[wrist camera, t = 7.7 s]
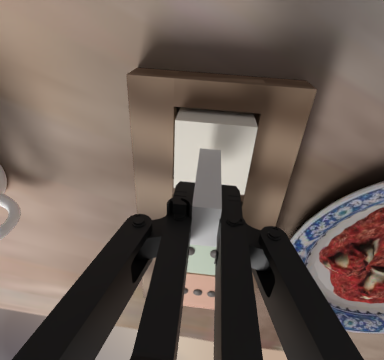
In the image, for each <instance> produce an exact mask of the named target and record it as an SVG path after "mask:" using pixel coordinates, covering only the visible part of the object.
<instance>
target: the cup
mask: <svg viewBox="0 0 384 360" xmlns="http://www.w3.org/2000/svg"><path fill="white" fill-rule="evenodd" d="M6 187H7V178H6V174H5V172H4V170H3V168H2V166H1V165H0V206H2V207H4V208H5V209H7V211H8V212H9V215H8V218H7V219H6V221H5V222H4V223H3V224H2V225H1V226H0V240H1V239H2V238H4V237H5V236H6V235H7V234H8V233H9V232H10V231H11V230H12V229H13V228H14V227H15V226H16V224H17V223H18V221H19V219H20V216H21V210H20V207H19V205H18V204H17V203H16V202H15V201H14V200H13V199H12V198H10V197H8V196H7V195H5V194H4V193H5V190H6Z"/></svg>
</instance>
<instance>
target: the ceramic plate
mask: <svg viewBox="0 0 384 360" xmlns="http://www.w3.org/2000/svg"><path fill="white" fill-rule="evenodd" d="M290 241H291V243H292V244H293V246H294V248H295V249H296V251H297V253H298V254H299V256H300V257H301V259H302V261H303V262H304V264H305V265H306V267H307V269H308V270H309V272H310V274H311V275H312V277H313V278H314V280H315V282H316V283H317V285H318V286H319V288H320V290H321V291H322V293H323V295H324V296H325V298H326V299H327V301H328V303H329V304H330V306H331V307H332V309H333V311H334V312H335V314H336V316H337V317H338V319H339V320H340V322H341V324H342V325H343V327H344V329H345V330H346V331H349V332H358V333H384V181H382V182H379V183H376V184H374V185H371V186H368V187H365V188H363V189H360V190H357V191H355V192H353V193H351V194H348V195H346V196H344V197H342V198H340V199H339V200H337V201H335V202H333V203H331V204H330V205H328V206H327V207H325V208H324V209H322V210H320V211H319V212H318V213H317V214H315V215H314V216H313V217H311V218H310V219H309V220H308V221H306V222H305V223H304V224H303V225H302V226H301V228H300V229H299V230H298V231H297V232H296V233H295V234H294V235H293V237H292V238H291V239H290Z"/></svg>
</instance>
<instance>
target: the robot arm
mask: <svg viewBox="0 0 384 360" xmlns="http://www.w3.org/2000/svg"><path fill="white" fill-rule="evenodd" d="M190 244H191V245H201V246H211V247H216V245H217V248H216V255H215V261H214V264H215V315H214V360H263V356H262V348H261V340H260V332H259V324H258V316H257V308H256V300H255V291H254V283H253V275H254V278H255V280H256V283H257V285H258V288H259V290H260V293H261V295H262V298H263V300H264V303H265V305H266V307H267V310H268V312H269V315H270V317H271V320H272V322H273V325H274V327H275V330H276V332H277V335H278V337H279V340H280V342H281V345H282V347H283V350H284V352H285V354H286V357H287V359H288V360H364V359H363V358H362V356H361V354H360V353H359V351H358V350H357V348H356V346H355V345H354V343H353V341H352V340H351V338H350V337H349V335H348V333H347V332H346V330H345V329H344V327H343V325H342V324H341V322H340V320H339V319H338V317H337V316H336V314H335V312H334V311H333V309H332V307H331V306H330V304H329V303H328V301H327V299H326V298H325V296H324V295H323V293H322V291H321V290H320V288H319V286H318V285H317V283H316V282H315V280H314V278H313V277H312V275H311V274H310V272H309V270H308V269H307V267H306V265H305V264H304V262H303V261H302V259H301V257H300V256H299V254H298V253H297V251H296V249H295V248H294V246H293V244H292V243H291V241H290V240H289V238H288V236H287V235H286V233H285V232H284V231H283V230H281V229H279V228H277V227H274V226H267V227H264V228H262V229H261V230H258V229H255V228H253V227H251V226H249V225H248V224H247V223H246V222H245V220H244V219H243V214H242V206H241V197H240V191H239V189H238V188H237V187H236V186H232V185H222V184H221V150H214V149H202V148H200V151H199V159H198V166H197V174H196V181H195V183H194V182H183V181H180V182H179V183H178V184H177V185H176V187H175V192H174V196H173V198H171V199H170V200H168V202H167V215H166V216H165V217H163V218H160V219H154V220H151V218H150V217H149V216H147V215H145V214H135V215H133V216H130V217H129V218H128V219H127V220H126V221H125V222H124V224H123V225H122V226H121V227H120V229H119V230H118V231H117V232H116V233H115V235H114V236H113V237H112V238H111V240H110V241H109V242H108V243H107V244H106V246H105V247H104V248H103V249H102V250H101V252H100V253H99V254H98V255H97V257H96V258H95V259H94V260H93V261H92V263H91V264H90V265H89V266H88V268H87V269H86V270H85V271H84V272H83V274H82V275H81V276H80V277H79V279H78V280H77V281H76V282H75V283H74V285H73V286H72V287H71V288H70V289H69V291H68V292H67V293H66V294H65V296H64V297H63V298H62V299H61V300H60V302H59V303H58V304H57V305H56V307H55V308H54V309H53V310H52V311H51V313H50V314H49V315H48V316H47V317H46V319H45V320H44V321H43V322H42V324H41V325H40V326H39V327H38V328H37V330H36V331H35V332H34V333H33V335H32V336H31V337H30V338H29V339H28V341H27V342H26V343H25V344H24V346H23V347H22V348H21V349H20V350H19V352H18V353H17V354H16V355H15V356H14V358H13V359H12V360H95V358H96V356H97V355H98V353H99V351H100V350H101V348H102V346H103V344H104V343H105V341H106V339H107V337H108V336H109V334H110V332H111V331H112V329H113V327H114V326H115V324H116V322H117V320H118V319H119V317H120V315H121V313H122V312H123V310H124V308H125V307H126V305H127V303H128V301H129V300H130V298H131V296H132V295H133V293H134V291H135V289H136V288H137V286H138V284H139V282H140V281H141V279H142V277H143V276H144V274H145V272H146V270H147V269H148V267H149V265H150V264H151V262H152V260H153V258H156V260H155V264H154V268H153V273H152V277H151V281H150V285H149V289H148V293H147V297H146V301H145V305H144V309H143V313H142V317H141V321H140V325H139V329H138V333H137V337H136V341H135V345H134V349H133V353H132V356H131V359H130V360H176V359H177V350H178V342H179V333H180V325H181V317H182V308H183V300H184V291H185V283H186V274H187V266H188V258H189V247H190ZM252 273H253V275H252Z"/></svg>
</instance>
